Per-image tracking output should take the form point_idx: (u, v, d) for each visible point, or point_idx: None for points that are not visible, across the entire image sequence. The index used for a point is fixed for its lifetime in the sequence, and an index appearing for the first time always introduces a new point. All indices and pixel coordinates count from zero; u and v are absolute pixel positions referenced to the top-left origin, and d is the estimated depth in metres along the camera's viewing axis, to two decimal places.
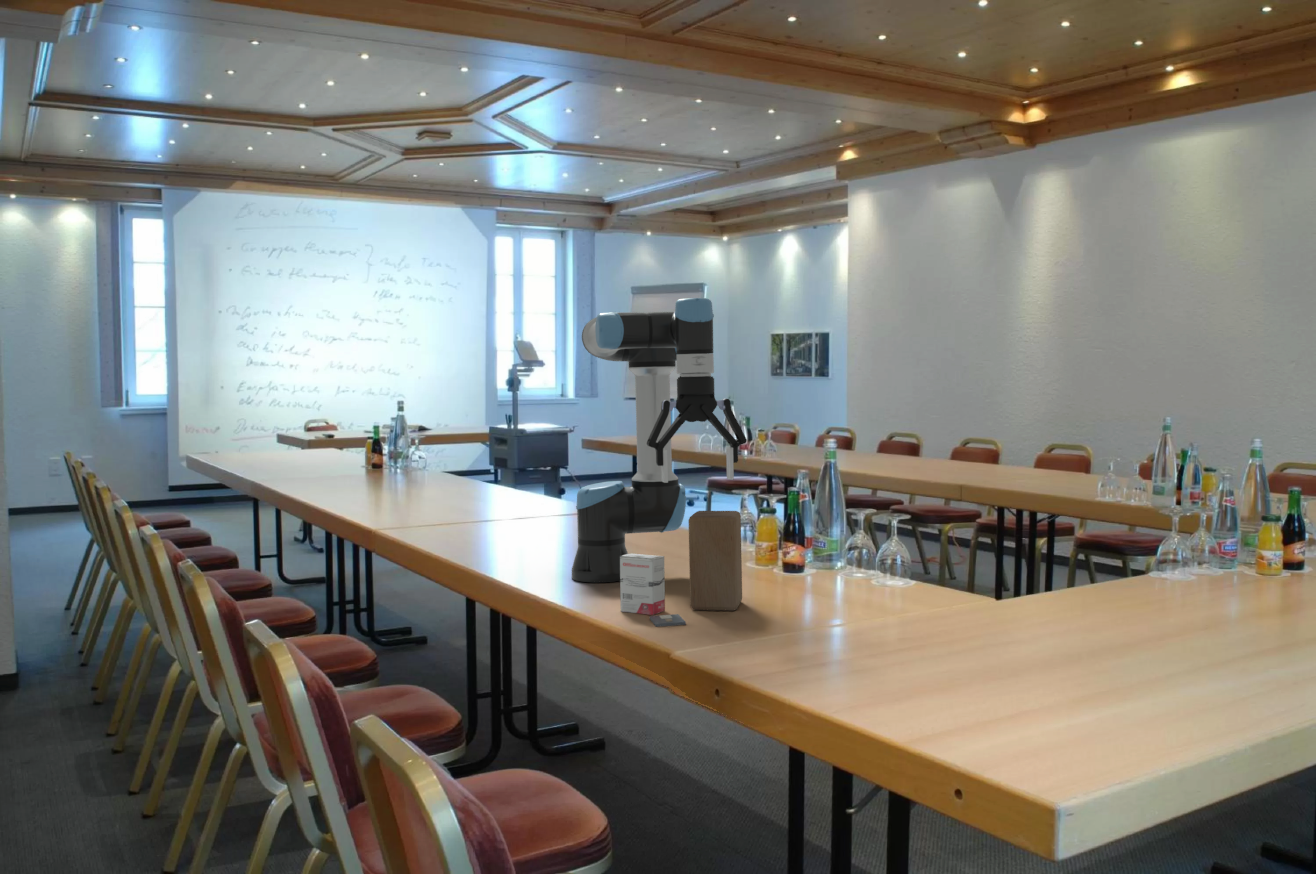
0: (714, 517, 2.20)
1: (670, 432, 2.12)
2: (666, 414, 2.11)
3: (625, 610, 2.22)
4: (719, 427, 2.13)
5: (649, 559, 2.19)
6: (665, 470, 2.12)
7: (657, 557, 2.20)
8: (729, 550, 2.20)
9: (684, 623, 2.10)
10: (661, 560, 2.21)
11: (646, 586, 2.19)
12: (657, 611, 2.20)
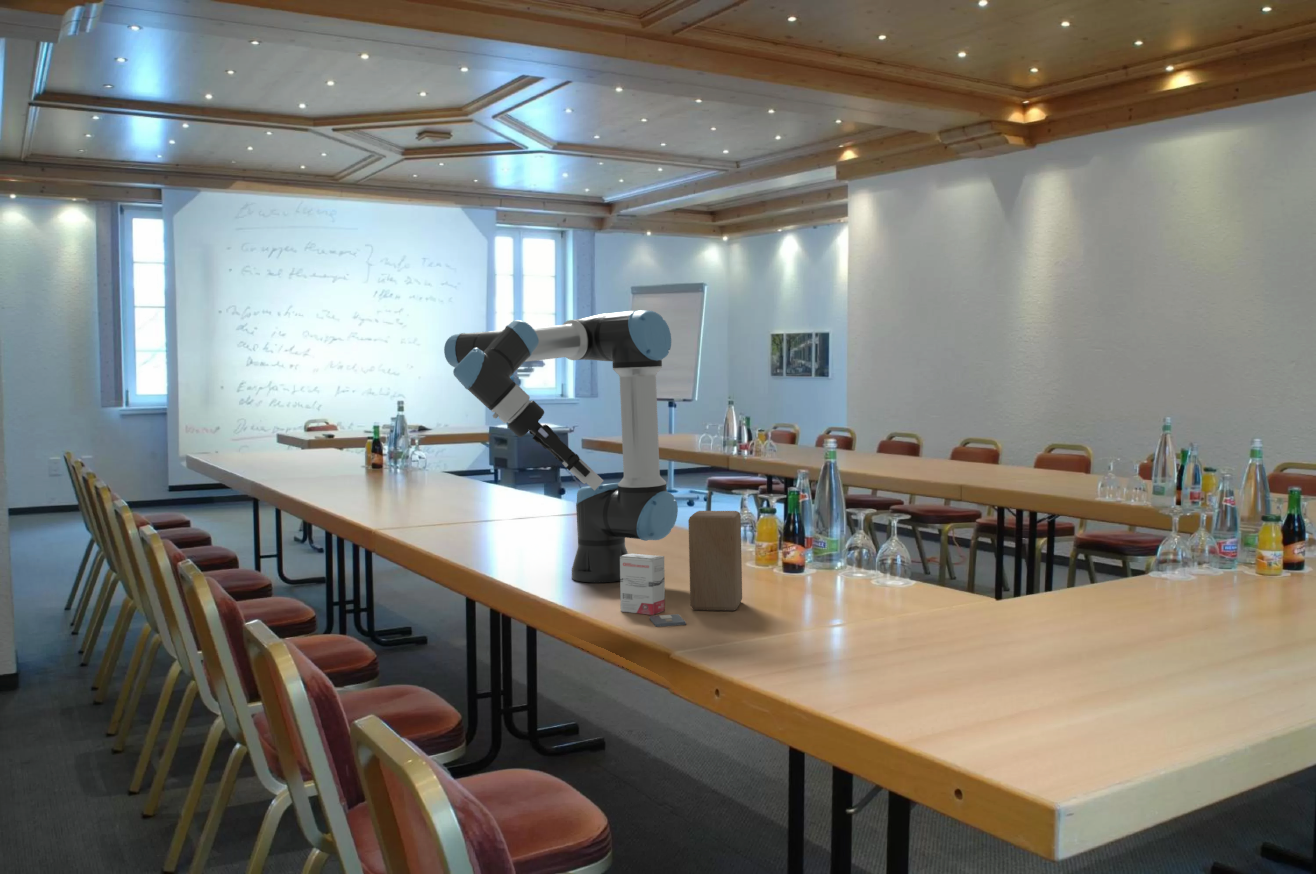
0: (714, 517, 2.20)
1: None
2: None
3: (625, 610, 2.22)
4: (555, 452, 2.13)
5: (649, 559, 2.19)
6: None
7: (657, 557, 2.20)
8: (729, 550, 2.20)
9: (684, 623, 2.10)
10: (661, 560, 2.21)
11: (646, 586, 2.19)
12: (657, 611, 2.20)
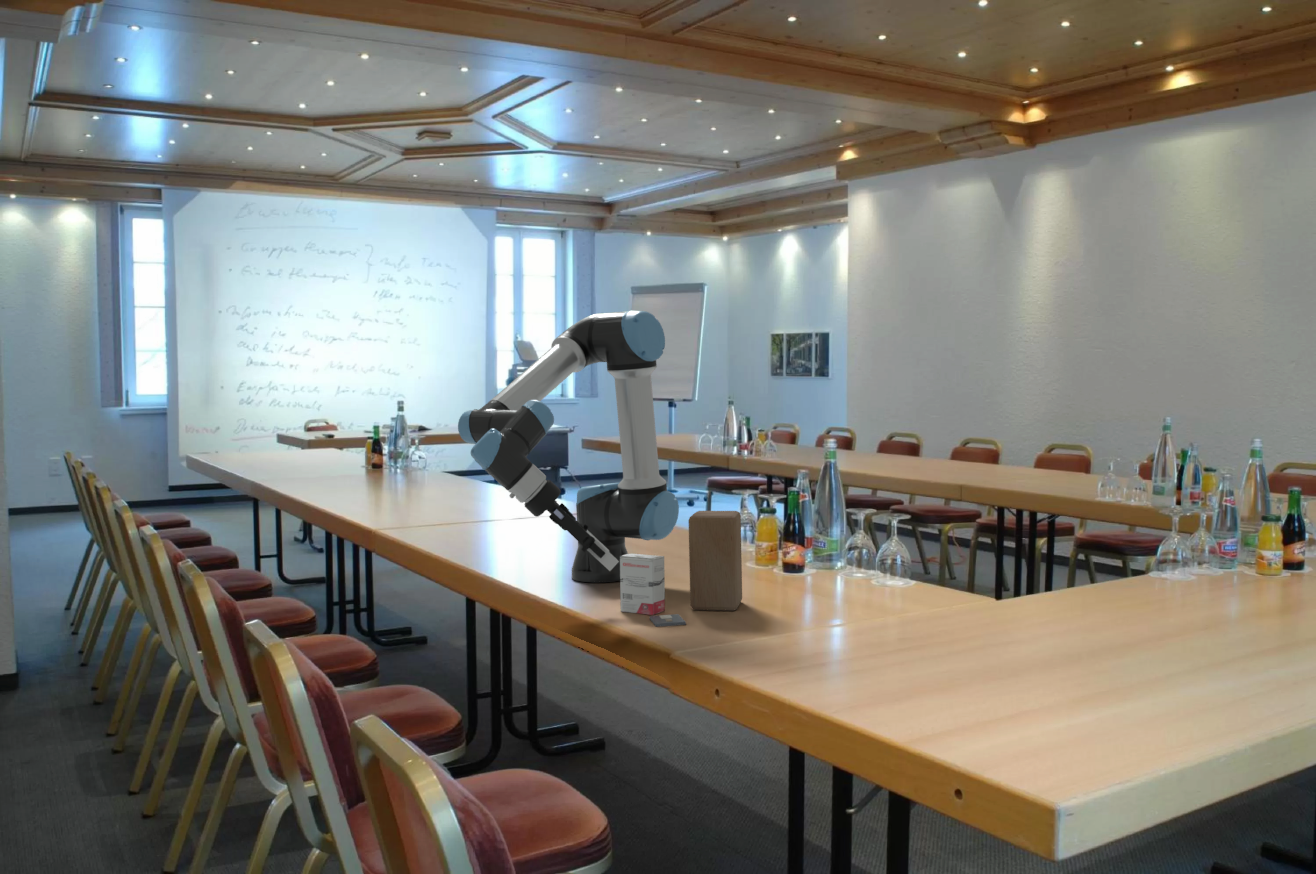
0: (714, 517, 2.20)
1: None
2: None
3: (625, 610, 2.22)
4: None
5: (649, 559, 2.19)
6: None
7: (657, 557, 2.20)
8: (729, 550, 2.20)
9: (684, 623, 2.10)
10: (661, 560, 2.21)
11: (646, 586, 2.19)
12: (657, 611, 2.20)
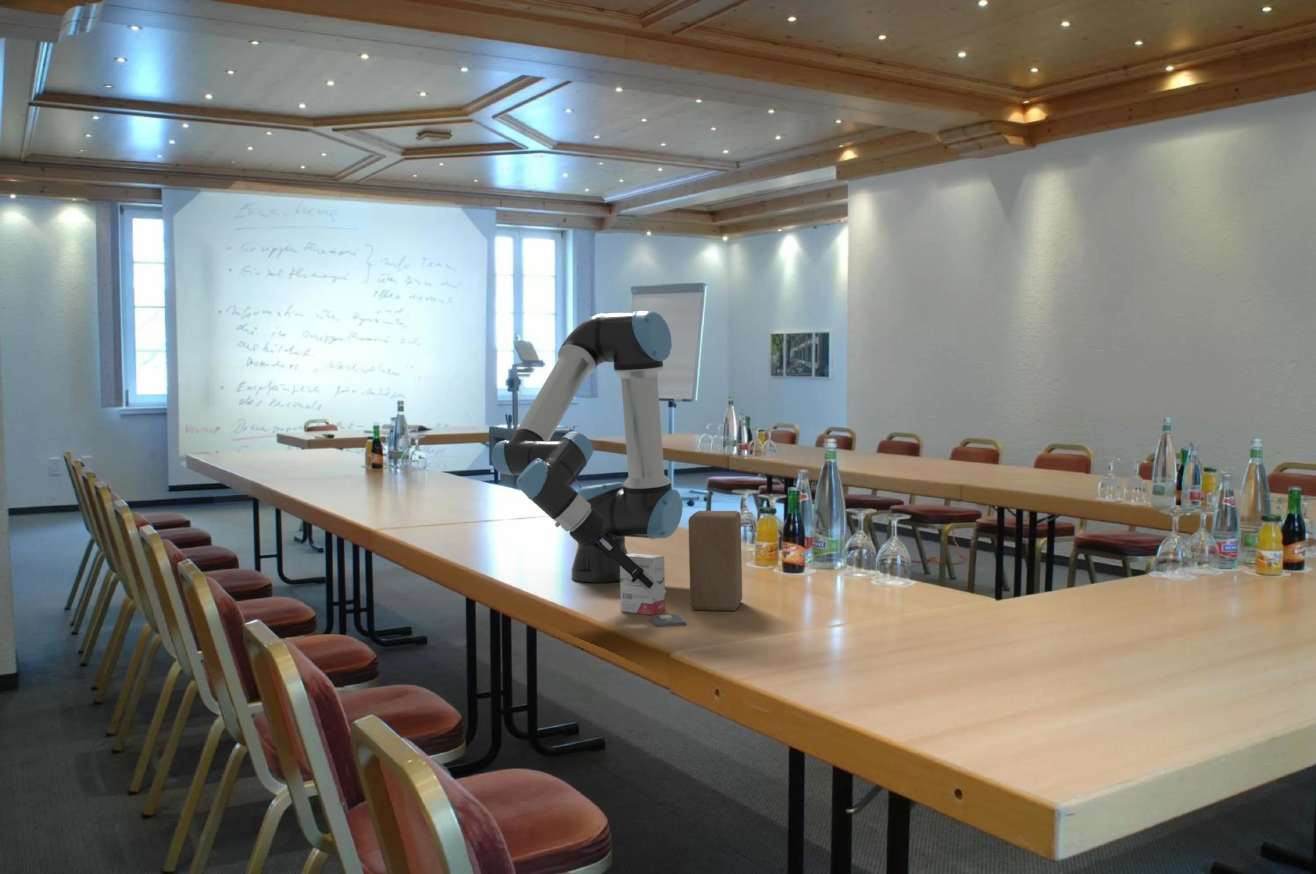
0: (714, 517, 2.20)
1: None
2: None
3: (625, 610, 2.22)
4: None
5: (649, 559, 2.19)
6: None
7: (657, 557, 2.20)
8: (729, 550, 2.20)
9: (684, 623, 2.10)
10: (661, 560, 2.21)
11: None
12: (657, 611, 2.20)
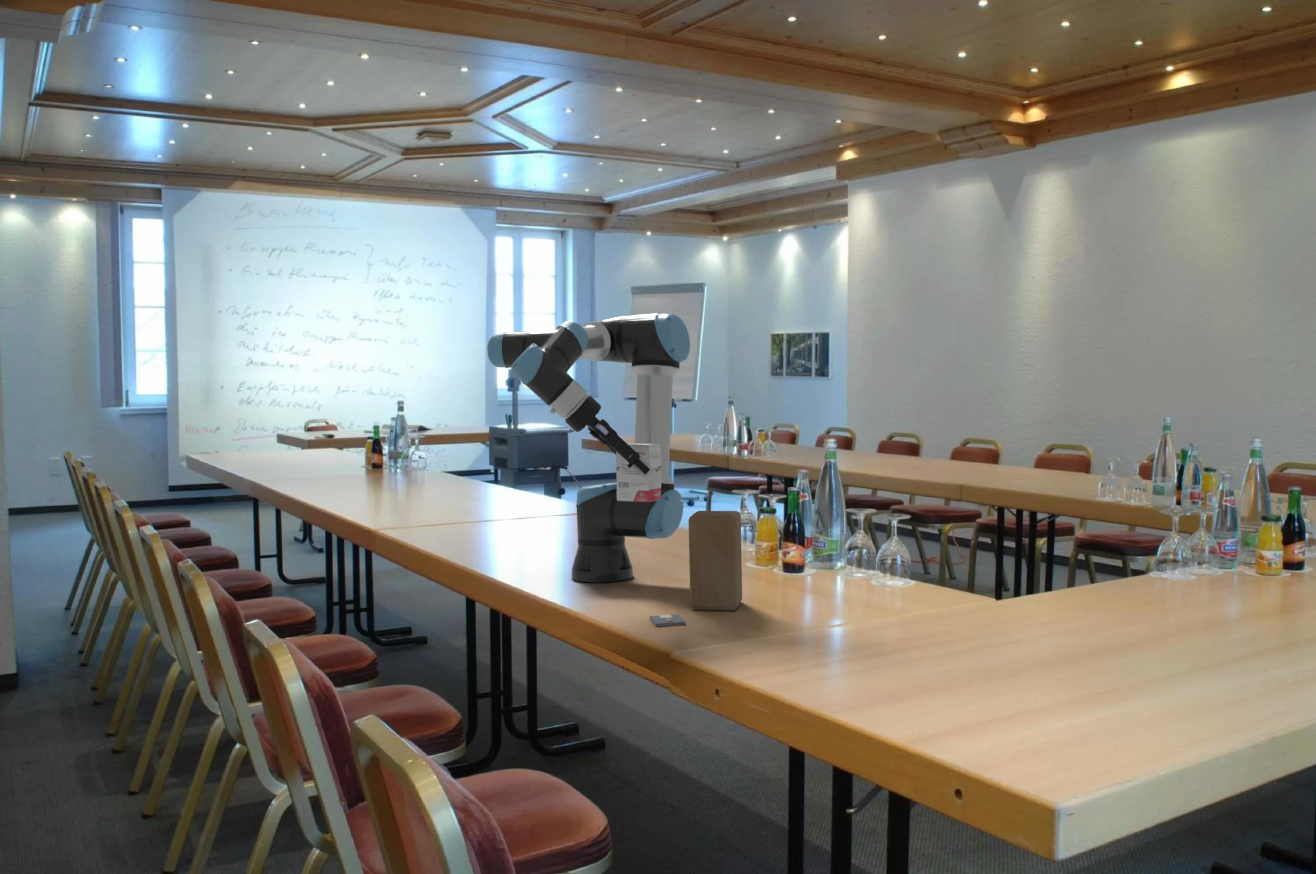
0: (714, 517, 2.20)
1: (611, 449, 2.24)
2: None
3: (621, 499, 2.21)
4: None
5: (645, 446, 2.17)
6: None
7: (653, 444, 2.19)
8: (729, 550, 2.20)
9: (684, 623, 2.10)
10: (657, 448, 2.19)
11: None
12: (653, 498, 2.18)
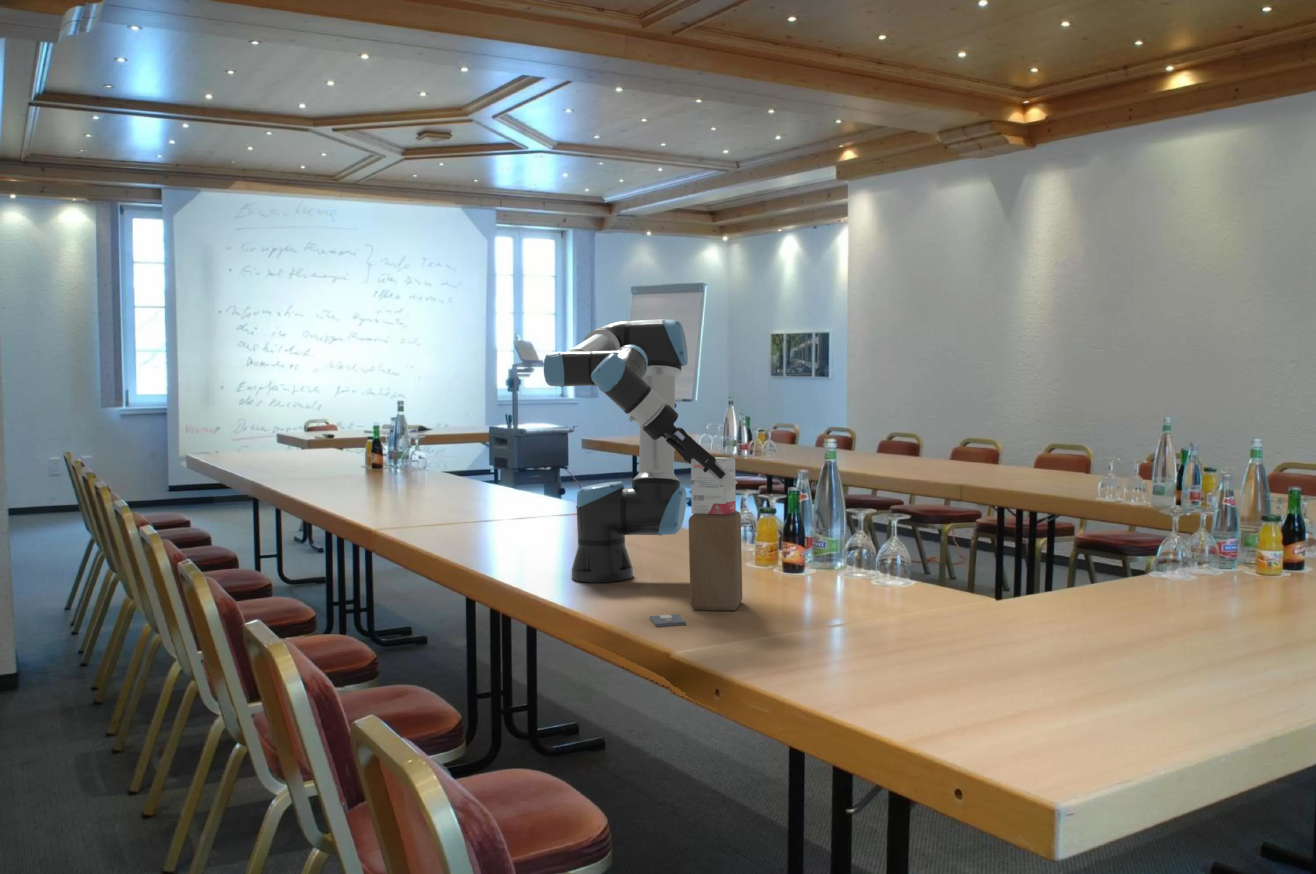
0: (714, 517, 2.20)
1: (682, 454, 2.29)
2: None
3: (696, 512, 2.24)
4: (690, 455, 2.19)
5: (721, 459, 2.21)
6: None
7: (729, 458, 2.22)
8: (729, 550, 2.20)
9: (684, 623, 2.10)
10: (732, 461, 2.23)
11: (718, 486, 2.21)
12: (729, 511, 2.22)
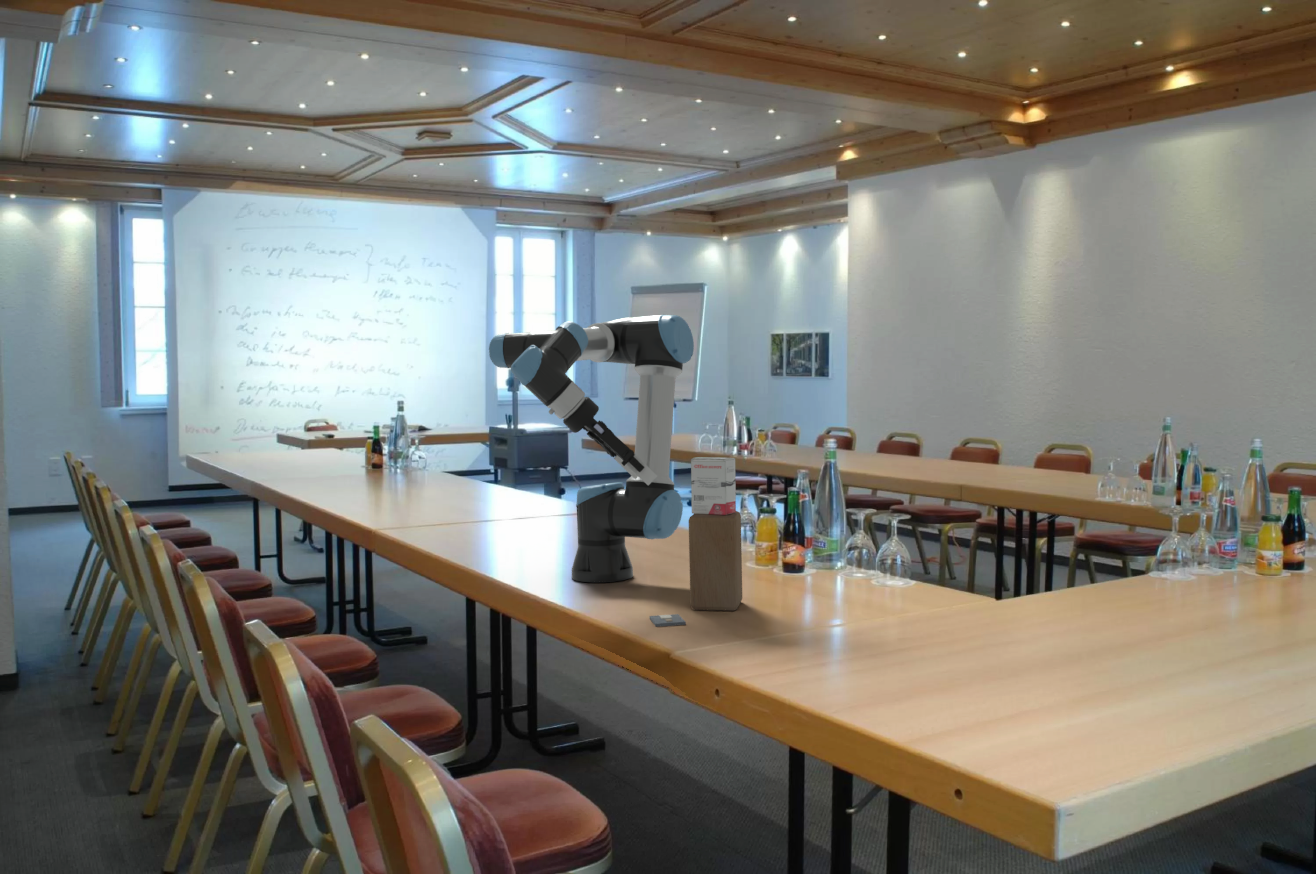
0: (714, 517, 2.20)
1: None
2: None
3: (696, 512, 2.24)
4: (609, 448, 2.18)
5: (721, 459, 2.21)
6: (627, 471, 2.30)
7: (729, 458, 2.22)
8: (729, 550, 2.20)
9: (684, 623, 2.10)
10: (732, 461, 2.23)
11: (718, 487, 2.21)
12: (729, 511, 2.22)
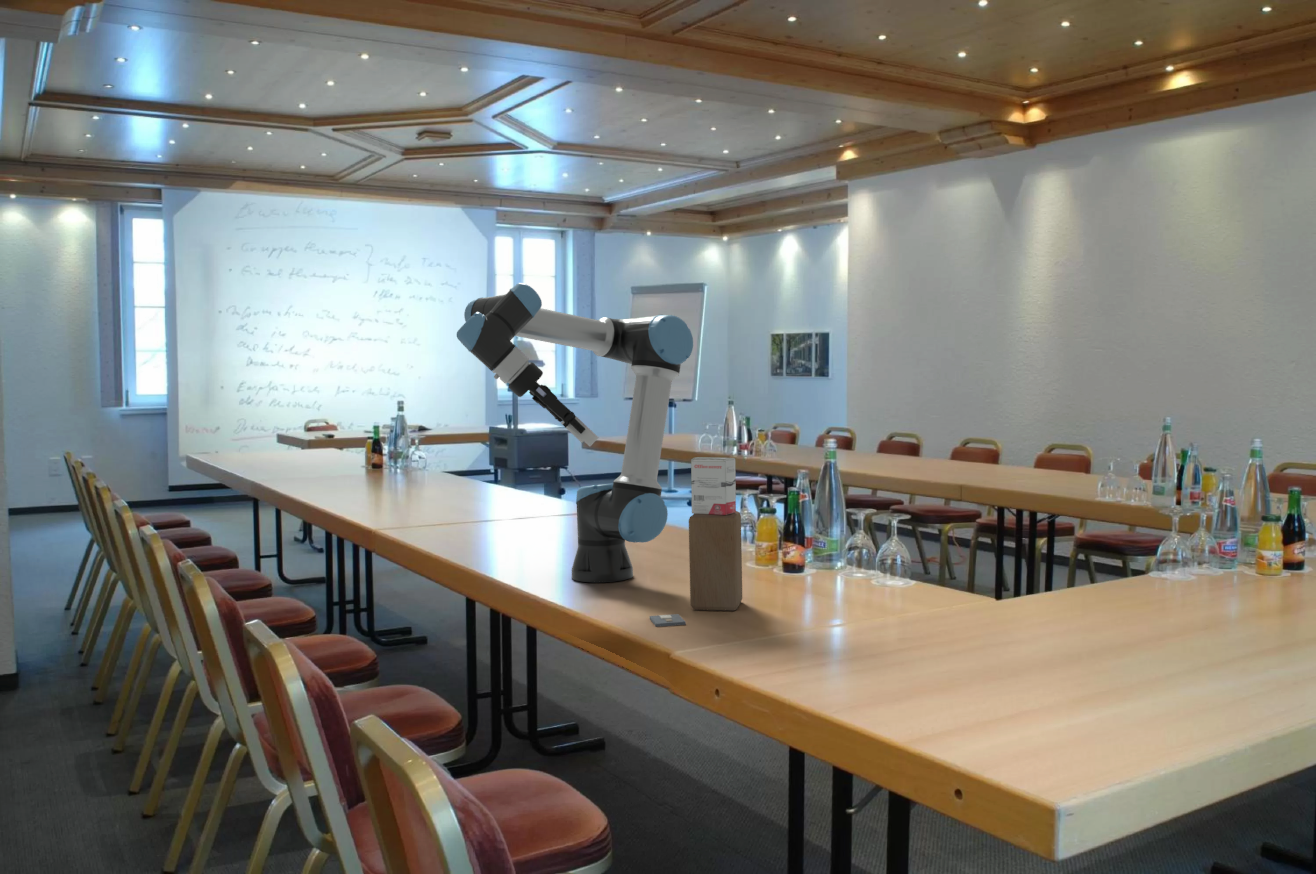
0: (714, 517, 2.20)
1: None
2: None
3: (696, 512, 2.24)
4: (552, 411, 2.25)
5: (722, 460, 2.21)
6: (574, 435, 2.37)
7: (729, 458, 2.22)
8: (729, 550, 2.20)
9: (684, 623, 2.10)
10: (733, 462, 2.23)
11: (718, 487, 2.21)
12: (729, 511, 2.22)
